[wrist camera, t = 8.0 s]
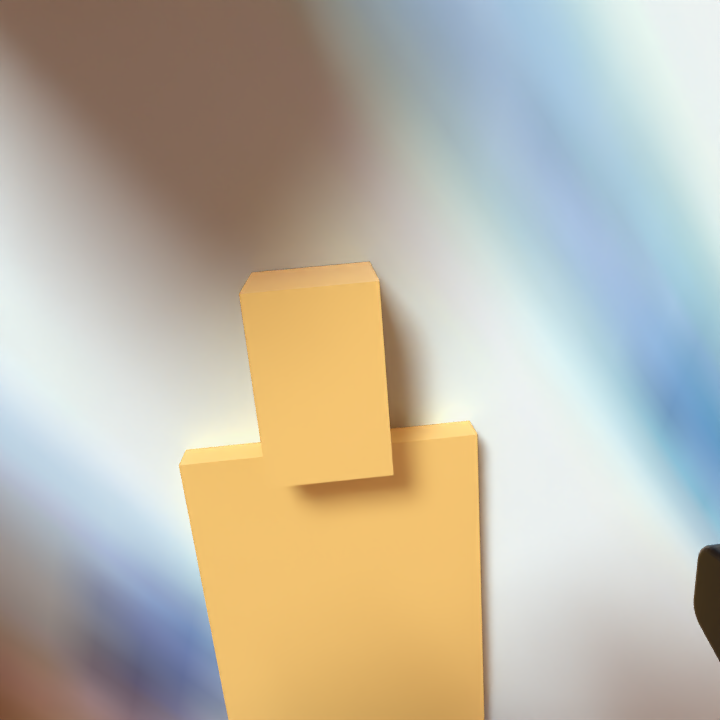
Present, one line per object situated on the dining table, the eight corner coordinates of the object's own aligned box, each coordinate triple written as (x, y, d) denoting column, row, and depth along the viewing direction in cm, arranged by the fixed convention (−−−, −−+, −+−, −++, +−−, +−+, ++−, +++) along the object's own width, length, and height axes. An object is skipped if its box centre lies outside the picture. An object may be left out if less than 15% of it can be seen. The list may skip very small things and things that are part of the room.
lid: (476, 700, 22) (499, 775, 19) (239, 728, 22) (227, 808, 19) (464, 252, 17) (491, 270, 14) (154, 281, 17) (123, 305, 14)
